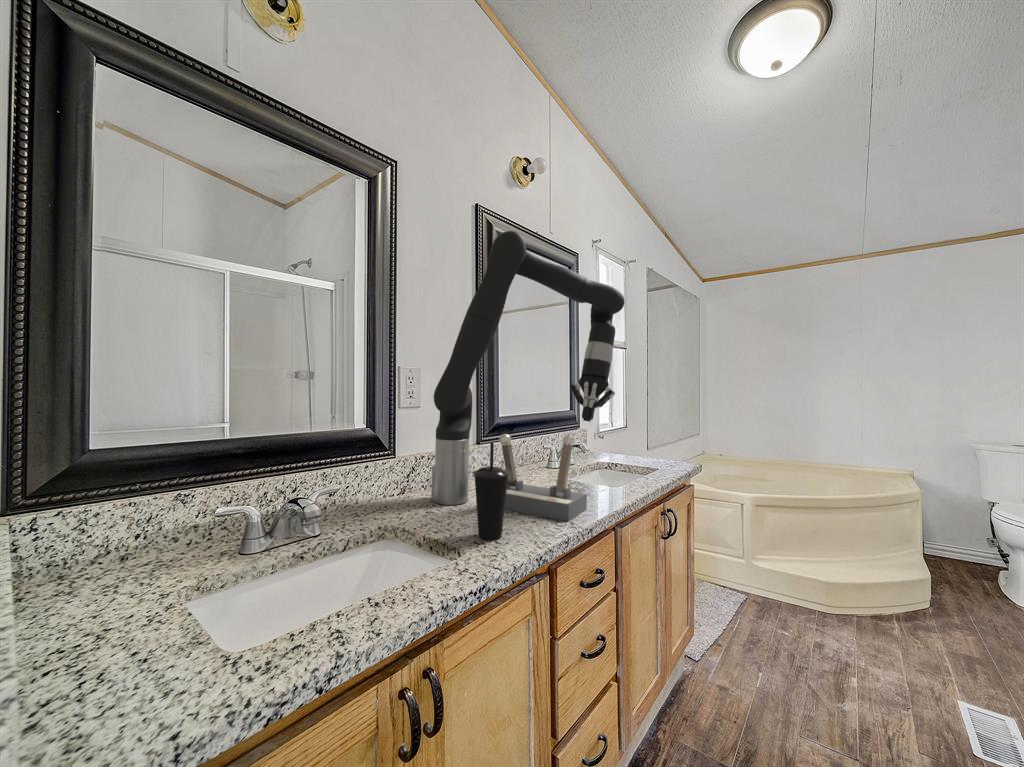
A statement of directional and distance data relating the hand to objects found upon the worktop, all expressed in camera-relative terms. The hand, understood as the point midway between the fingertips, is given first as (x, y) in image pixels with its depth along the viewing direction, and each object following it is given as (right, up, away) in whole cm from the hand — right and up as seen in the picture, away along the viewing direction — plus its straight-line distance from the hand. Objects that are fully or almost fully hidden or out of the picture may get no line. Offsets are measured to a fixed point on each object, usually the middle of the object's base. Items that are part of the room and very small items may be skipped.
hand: (586, 421), depth 119 cm
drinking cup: (-26, -22, -28) cm, 44 cm away
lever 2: (-8, -18, -9) cm, 21 cm away
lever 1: (-20, -17, -2) cm, 27 cm away
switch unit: (-15, -22, -5) cm, 27 cm away
